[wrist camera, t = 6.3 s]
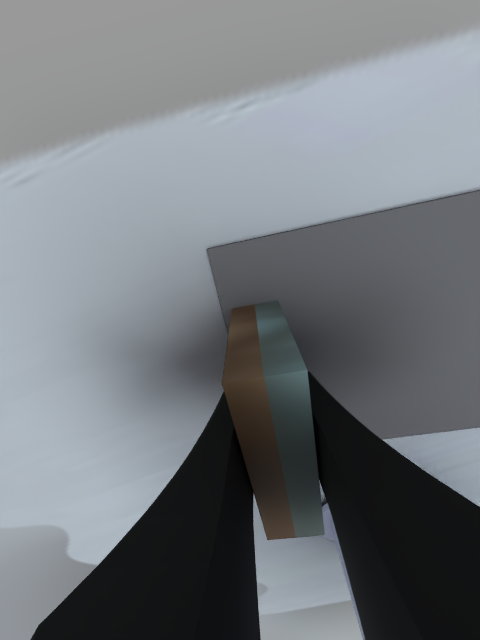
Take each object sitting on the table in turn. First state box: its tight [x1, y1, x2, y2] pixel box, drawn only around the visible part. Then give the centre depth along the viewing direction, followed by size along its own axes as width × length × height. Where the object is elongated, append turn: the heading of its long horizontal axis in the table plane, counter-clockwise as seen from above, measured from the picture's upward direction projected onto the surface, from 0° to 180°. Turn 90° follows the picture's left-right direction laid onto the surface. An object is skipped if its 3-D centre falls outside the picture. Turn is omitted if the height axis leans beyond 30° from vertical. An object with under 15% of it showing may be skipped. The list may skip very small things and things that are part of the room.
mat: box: [207, 190, 480, 439], centre depth 11 cm, size 16×12×1 cm
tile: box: [222, 300, 325, 540], centre depth 9 cm, size 2×7×5 cm, turn 11°
